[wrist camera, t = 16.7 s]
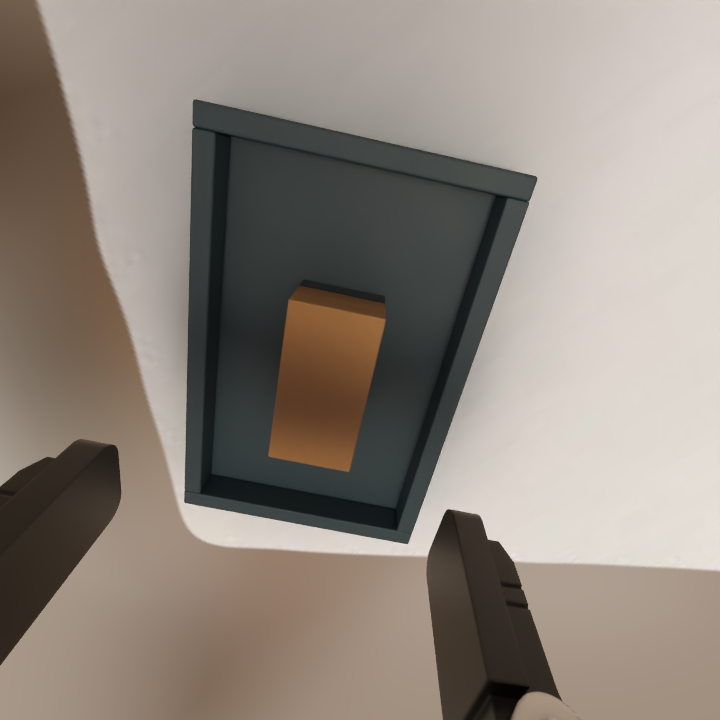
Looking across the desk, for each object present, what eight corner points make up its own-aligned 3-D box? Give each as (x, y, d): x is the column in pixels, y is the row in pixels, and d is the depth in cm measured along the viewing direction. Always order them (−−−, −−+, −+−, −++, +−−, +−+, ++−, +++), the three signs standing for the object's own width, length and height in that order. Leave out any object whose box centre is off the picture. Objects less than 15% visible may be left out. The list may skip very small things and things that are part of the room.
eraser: (303, 278, 17) (288, 299, 14) (385, 296, 17) (386, 319, 14) (283, 418, 20) (267, 457, 17) (353, 431, 20) (349, 472, 17)
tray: (216, 108, 15) (192, 97, 13) (519, 176, 15) (539, 176, 13) (200, 475, 22) (183, 503, 20) (405, 513, 23) (408, 544, 21)
